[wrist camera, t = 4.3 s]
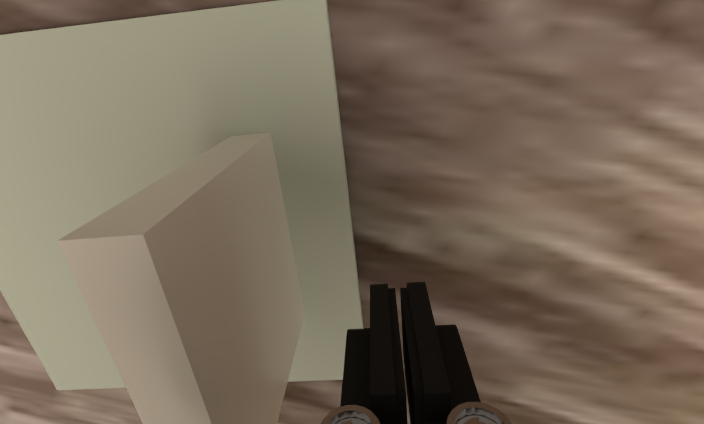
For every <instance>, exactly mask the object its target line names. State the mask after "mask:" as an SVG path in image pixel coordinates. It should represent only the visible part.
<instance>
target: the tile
mask: <svg viewBox="0 0 704 424" xmlns="http://www.w3.org/2000/svg"><path fill="white" fill-rule="evenodd" d="M57 242H58V244H59V246H60V248H61V250H62V252H63V255H64V257H65V259H66V261H67V263H68V265H69V267H70V269H71V272H72V274H73V276H74V278H75V280H76V282H77V284H78V287H79V289H80V291H81V293H82V295H83V297H84V299H85V301H86V304H87V306H88V308H89V310H90V312H91V314H92V316H93V318H94V321H95V323H96V325H97V327H98V329H99V331H100V333H101V336H102V338H103V340H104V342H105V344H106V346H107V348H108V350H109V353H110V355H111V357H112V359H113V361H114V363H115V365H116V367H117V370H118V372H119V374H120V376H121V378H122V380H123V382H124V385H125V387H126V389H127V391H128V393H129V395H130V397H131V399H132V402H133V404H134V406H135V408H136V410H137V412H138V414H139V416H140V419H141V421H142V423H143V424H277V422H278V418H279V414H280V410H281V406H282V402H283V398H284V394H285V390H286V386H287V382H288V378H289V374H290V370H291V366H292V362H293V358H294V354H295V350H296V346H297V342H298V338H299V334H300V330H301V326H302V322H303V318H304V315H305V313H304V308H303V302H302V297H301V292H300V286H299V281H298V276H297V270H296V265H295V260H294V254H293V249H292V244H291V238H290V233H289V228H288V222H287V217H286V212H285V206H284V201H283V196H282V190H281V185H280V180H279V174H278V169H277V164H276V158H275V153H274V148H273V142H272V137H271V132H269V133H258V134H247V135H237V136H231V137H229V138H227V139H226V140H224V141H222V142H221V143H219V144H217V145H216V146H214V147H212V148H211V149H209V150H207V151H206V152H204V153H202V154H201V155H199V156H197V157H196V158H194V159H192V160H191V161H189V162H187V163H186V164H184V165H182V166H181V167H179V168H177V169H176V170H174V171H172V172H171V173H169V174H167V175H166V176H164V177H162V178H161V179H159V180H157V181H156V182H154V183H152V184H151V185H149V186H147V187H146V188H144V189H142V190H141V191H139V192H137V193H136V194H134V195H132V196H131V197H129V198H127V199H126V200H124V201H122V202H121V203H119V204H117V205H116V206H114V207H112V208H111V209H109V210H107V211H106V212H104V213H102V214H101V215H99V216H97V217H96V218H94V219H92V220H91V221H89V222H87V223H86V224H84V225H82V226H81V227H79V228H77V229H76V230H74V231H72V232H71V233H69V234H68V235H66V236H64V237H63V238H61V239H59V240H58V241H57Z"/></svg>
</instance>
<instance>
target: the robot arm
mask: <svg viewBox="0 0 704 424" xmlns="http://www.w3.org/2000/svg"><path fill="white" fill-rule="evenodd" d="M400 293H401V314H402V335H403V355H404V367H405V376H406V386H407V395H408V404H409V413H410V422H411V424H511V422H510V421H509V419H508V418H507V417H506V416H505V415H504V414H503V413H502V412H500V411H499V410H498V409H496V408H494V407H492V406H490V405H488V404H485V403H481V402H480V399H479V396H478V393H477V389H476V386H475V383H474V380H473V377H472V374H471V370H470V367H469V364H468V361H467V358H466V354H465V351H464V348H463V345H462V342H461V339H460V335H459V332H458V329H457V327H456V325H436V326H435V322H434V318H433V314H432V310H431V305H430V301H429V297H428V293H427V289H426V284H425V282H414V283H407V288H400ZM321 424H407V407H406V391H405V380H404V371H403V361H402V352H401V342H400V333H399V323H398V313H397V304H396V294H395V288H389V289H388V284H375V285H370V328H364V329H348V330H347V335H346V347H345V359H344V371H343V383H342V395H341V407H339V408H336V409H335V410H333V411H332V412H330V413H329V414H328V415H327V416H326V417H325V418H324V419H323V421H322V423H321Z"/></svg>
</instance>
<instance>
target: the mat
mask: <svg viewBox="0 0 704 424" xmlns="http://www.w3.org/2000/svg"><path fill="white" fill-rule="evenodd" d="M269 132H271V137H272V142H273V148H274V153H275V158H276V164H277V169H278V174H279V180H280V185H281V190H282V196H283V201H284V206H285V212H286V217H287V222H288V228H289V233H290V238H291V244H292V249H293V254H294V260H295V265H296V270H297V276H298V281H299V286H300V292H301V297H302V302H303V308H304V313H305V315H304V318H303V322H302V326H301V330H300V334H299V338H298V342H297V346H296V350H295V354H294V358H293V362H292V366H291V370H290V374H289V378H288V382H293V381H320V380H343V371H344V359H345V347H346V335H347V330H348V329H364V326H363V317H362V309H361V300H360V291H359V282H358V273H357V264H356V255H355V246H354V237H353V228H352V219H351V210H350V201H349V192H348V183H347V174H346V165H345V156H344V147H343V138H342V129H341V120H340V111H339V102H338V93H337V84H336V75H335V66H334V57H333V48H332V39H331V30H330V21H329V12H328V3H327V0H278V1H270V2H262V3H254V4H246V5H238V6H230V7H222V8H213V9H205V10H197V11H189V12H181V13H173V14H165V15H157V16H149V17H141V18H133V19H125V20H117V21H109V22H101V23H93V24H85V25H77V26H68V27H60V28H52V29H44V30H36V31H28V32H20V33H12V34H4V35H0V291H1V293H2V294H3V296H4V298H5V300H6V301H7V303H8V305H9V307H10V308H11V310H12V312H13V314H14V315H15V317H16V319H17V321H18V322H19V324H20V326H21V328H22V329H23V331H24V333H25V335H26V336H27V338H28V340H29V342H30V343H31V345H32V347H33V349H34V350H35V352H36V354H37V356H38V357H39V359H40V361H41V363H42V364H43V366H44V368H45V370H46V371H47V373H48V375H49V377H50V378H51V380H52V382H53V384H54V385H55V387H56V389H57V390H78V389H105V388H126V387H125V385H124V382H123V380H122V378H121V376H120V374H119V372H118V370H117V367H116V365H115V363H114V361H113V359H112V357H111V355H110V353H109V350H108V348H107V346H106V344H105V342H104V340H103V338H102V336H101V333H100V331H99V329H98V327H97V325H96V323H95V321H94V318H93V316H92V314H91V312H90V310H89V308H88V306H87V304H86V301H85V299H84V297H83V295H82V293H81V291H80V289H79V287H78V284H77V282H76V280H75V278H74V276H73V274H72V272H71V269H70V267H69V265H68V263H67V261H66V259H65V257H64V255H63V252H62V250H61V248H60V246H59V244H58V242H57V241H58V240H59V239H61V238H63V237H64V236H66V235H68V234H69V233H71V232H72V231H74V230H76V229H77V228H79V227H81V226H82V225H84V224H86V223H87V222H89V221H91V220H92V219H94V218H96V217H97V216H99V215H101V214H102V213H104V212H106V211H107V210H109V209H111V208H112V207H114V206H116V205H117V204H119V203H121V202H122V201H124V200H126V199H127V198H129V197H131V196H132V195H134V194H136V193H137V192H139V191H141V190H142V189H144V188H146V187H147V186H149V185H151V184H152V183H154V182H156V181H157V180H159V179H161V178H162V177H164V176H166V175H167V174H169V173H171V172H172V171H174V170H176V169H177V168H179V167H181V166H182V165H184V164H186V163H187V162H189V161H191V160H192V159H194V158H196V157H197V156H199V155H201V154H202V153H204V152H206V151H207V150H209V149H211V148H212V147H214V146H216V145H217V144H219V143H221V142H222V141H224V140H226V139H227V138H229V137H231V136H237V135H247V134H258V133H269Z"/></svg>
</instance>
